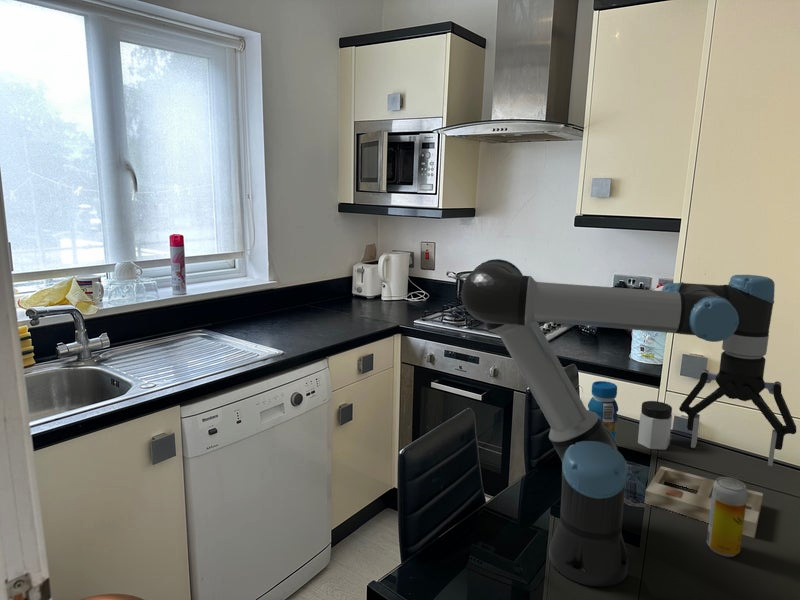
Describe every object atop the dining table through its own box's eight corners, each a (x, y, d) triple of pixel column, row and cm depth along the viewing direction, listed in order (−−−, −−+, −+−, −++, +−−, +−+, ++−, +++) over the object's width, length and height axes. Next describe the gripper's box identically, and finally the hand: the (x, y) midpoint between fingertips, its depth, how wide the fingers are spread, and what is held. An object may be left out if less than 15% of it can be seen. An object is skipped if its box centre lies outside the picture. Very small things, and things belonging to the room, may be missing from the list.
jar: (664, 438, 171) (667, 401, 169) (674, 450, 163) (678, 411, 161) (633, 437, 172) (636, 400, 170) (642, 449, 164) (645, 410, 162)
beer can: (744, 560, 114) (753, 492, 111) (711, 556, 115) (719, 488, 113) (733, 542, 120) (741, 477, 117) (702, 538, 121) (709, 474, 118)
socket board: (644, 504, 135) (645, 489, 134) (659, 478, 147) (660, 464, 146) (754, 538, 122) (756, 522, 121) (761, 506, 134) (763, 492, 133)
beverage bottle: (580, 451, 162) (584, 385, 158) (590, 441, 169) (594, 377, 165) (610, 459, 157) (615, 391, 153) (619, 449, 164) (624, 383, 160)
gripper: (821, 360, 107) (805, 463, 111) (677, 340, 121) (667, 432, 125) (822, 369, 101) (805, 479, 105) (671, 347, 115) (661, 444, 119)
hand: (730, 454), depth 115 cm, fingers open, 13 cm apart
